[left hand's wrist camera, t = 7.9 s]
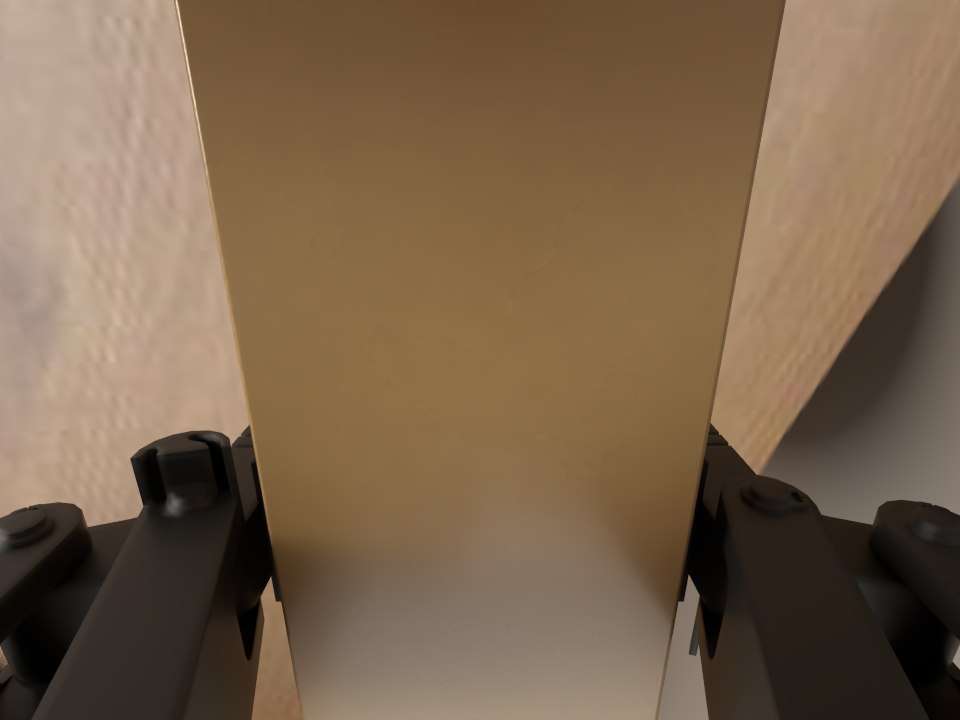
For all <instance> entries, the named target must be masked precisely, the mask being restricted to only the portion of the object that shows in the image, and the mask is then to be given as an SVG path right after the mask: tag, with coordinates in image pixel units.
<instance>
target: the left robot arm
mask: <svg viewBox="0 0 960 720" xmlns="http://www.w3.org/2000/svg"><path fill="white" fill-rule="evenodd" d="M130 459H131V463H132V466H133V470H134V474H135V477H136V481H137V484H138V488H139V492H140V495H141V499H142V502H143V506H144V507H143V509H142V511H141V512H140V514H139V516H138V517H137V518H133V519H129V520H123V521H118V522H113V523H108V524H102V525H97V526H92V527H87V524H86V521H85V518H84V515H83V512H82V510H81V509H80V508H79V507H77V506H76V505H74V504H69V503H60V502H58V503H50V504H38V505H34V506H29V508H26V507H25V508H22V509H19V510H16V511H14V512H12V513H11V514H9V515H7V516H4V517H2V518H0V646H1V648H2V651H3V653H4V655H5V657H6V660H7V662H8V664H7V666H6V667H5V668H4V669H3V670H2V671H1V672H0V720H251V718H252V710H253V703H254V695H255V688H256V680H257V672H258V665H259V657H260V650H261V642H262V634H263V627H264V614H263V608H262V603H261V595H262V593H263V591H264V589H265V587H266V585H267V583H268V581H269V579H270V577H272V583H273V588H274V594H275V599H276V601H281V597H280V591H279V586H278V580H277V574H276V569H275V563H274V557H273V552H272V546H271V541H270V535H269V529H268V524H267V518H266V513H265V507H264V501H263V496H262V490H261V485H260V479H259V473H258V468H257V462H256V457H255V451H254V445H253V440H252V434H251V429H250V425H249V426H248V427H247V428H246V429H245V430H244V432H243V433H242V434H241V437H238V438H237V439H236V441H235V442H234V443H233V444H232V447H231V445H230V440H229V438H228V437H227V436H225V435H224V434H222V433H219V432H214V431H209V430H208V431H190V432H185V433H179V434H174V435H171V436H168V437H165V438H162V439H159V440H157V441H154V442H152V443H151V444H149V445H147V446H145V447H143V448H141V449H140V450H139V451H138V452H137V453H136V454H135V455H134V456H132V457H131V458H130ZM688 575H690V577H691V579H692V581H693V583H694V585H695V587H696V589H697V591H698V593H699V595H700V597H699V603H698V608H697V613H696V618H695V623H694V628H693V633H692V638H691V643H690V650H689V654H690V655H695V656H696V654H697V649H698V645H699V648H700V656H701V663H702V671H703V679H704V686H705V694H706V701H707V709H708V717H709V720H960V669H959V668H958V667H957V666H956V665H955V664H954V663H953V662H952V661H953V658H954V656H955V654H956V652H957V649H958V647H959V645H960V515H957V514H955V513H953V512H950V511H949V510H948V509H946V508H943V507H940V506H937V505H934V506H933V505H932V504H929V503H925V502H914V501H906V500H896V501H887V502H885V503H884V504H883V505H881V506H880V507H879V508H878V511H877V514H876V517H875V520H874V523H873V525H870V524H865V523H860V522H854V521H849V520H844V519H838V518H833V517H828V516H824V515H821V513H820V511H819V510H818V508H817V506H816V505H815V503H814V502H813V501H812V500H811V499H810V498H809V496H808V495H806V494H805V493H803V492H802V491H800V490H798V489H797V488H795V487H794V486H792V485H789V484H787V483H784V482H782V481H780V480H777V479H774V478H769V477H765V476H760V475H756V474H755V472H754V471H753V470H752V469H751V468H750V467H749V466H748V465H747V463H746V462H745V461H744V460H743V459H742V458H741V457H740V456H739V454H738V453H737V452H736V451H735V450H734V449H733V448H732V447H731V446H728V442H727V441H726V440H725V439H724V438H723V437H722V435H719V432H718V431H717V430H716V429H715V428H714V426H713V425H712V424H711V423H710V427H709V433H708V438H707V444H706V450H705V455H704V461H703V466H702V472H701V478H700V483H699V489H698V494H697V500H696V506H695V511H694V517H693V522H692V528H691V534H690V539H689V545H688V551H687V556H686V562H685V567H684V573H683V579H682V584H681V590H680V595H679V601H684V597H685V592H686V586H687V581H688Z"/></svg>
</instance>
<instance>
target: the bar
mask: <svg viewBox="0 0 960 720" xmlns="http://www.w3.org/2000/svg"><path fill="white" fill-rule="evenodd" d="M785 1H786V0H174V3H175V8H176V14H177V20H178V25H179V31H180V36H181V42H182V48H183V53H184V59H185V64H186V70H187V76H188V81H189V87H190V92H191V98H192V104H193V109H194V115H195V120H196V126H197V132H198V137H199V143H200V148H201V154H202V160H203V165H204V171H205V176H206V182H207V188H208V193H209V199H210V204H211V210H212V216H213V221H214V227H215V233H216V238H217V244H218V249H219V255H220V261H221V266H222V272H223V277H224V283H225V289H226V294H227V300H228V305H229V311H230V317H231V322H232V328H233V333H234V339H235V345H236V350H237V356H238V361H239V367H240V373H241V378H242V384H243V389H244V395H245V401H246V406H247V412H248V417H249V423H250V429H251V434H252V440H253V445H254V451H255V457H256V462H257V468H258V473H259V479H260V485H261V490H262V496H263V501H264V507H265V513H266V518H267V524H268V529H269V535H270V541H271V546H272V552H273V557H274V563H275V569H276V574H277V580H278V586H279V591H280V597H281V602H282V608H283V614H284V619H285V625H286V630H287V636H288V642H289V647H290V653H291V658H292V664H293V670H294V675H295V681H296V686H297V692H298V698H299V703H300V709H301V714H302V720H657V719H658V713H659V707H660V702H661V696H662V691H663V685H664V679H665V674H666V668H667V662H668V657H669V651H670V646H671V640H672V635H673V629H674V623H675V618H676V612H677V606H678V601H679V595H680V590H681V584H682V579H683V573H684V567H685V562H686V556H687V551H688V545H689V539H690V534H691V528H692V522H693V517H694V511H695V506H696V500H697V494H698V489H699V483H700V478H701V472H702V466H703V461H704V455H705V450H706V444H707V438H708V433H709V427H710V422H711V416H712V410H713V405H714V399H715V394H716V388H717V382H718V377H719V371H720V366H721V360H722V354H723V349H724V343H725V338H726V332H727V326H728V321H729V315H730V310H731V304H732V298H733V293H734V287H735V282H736V276H737V270H738V265H739V259H740V254H741V248H742V242H743V237H744V231H745V225H746V220H747V214H748V209H749V203H750V197H751V192H752V186H753V181H754V175H755V169H756V164H757V158H758V153H759V147H760V141H761V136H762V130H763V125H764V119H765V113H766V108H767V102H768V97H769V91H770V85H771V80H772V74H773V69H774V63H775V57H776V52H777V46H778V41H779V35H780V29H781V24H782V18H783V13H784V7H785Z"/></svg>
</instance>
